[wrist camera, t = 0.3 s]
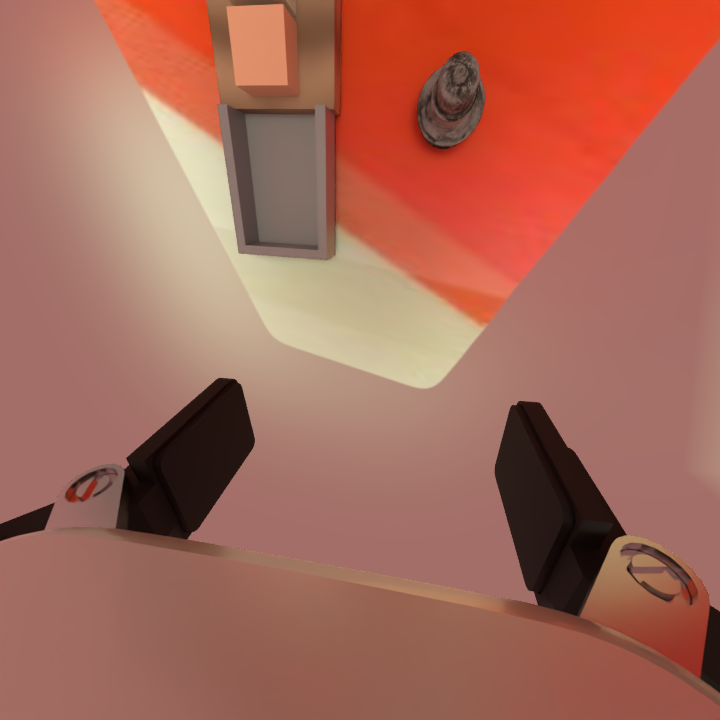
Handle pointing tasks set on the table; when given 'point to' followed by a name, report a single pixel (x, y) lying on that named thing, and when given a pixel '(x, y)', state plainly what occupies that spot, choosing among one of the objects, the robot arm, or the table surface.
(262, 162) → the box
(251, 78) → the salmon orange block
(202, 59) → the table surface
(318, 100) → the board
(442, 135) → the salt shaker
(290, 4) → the cream white block
